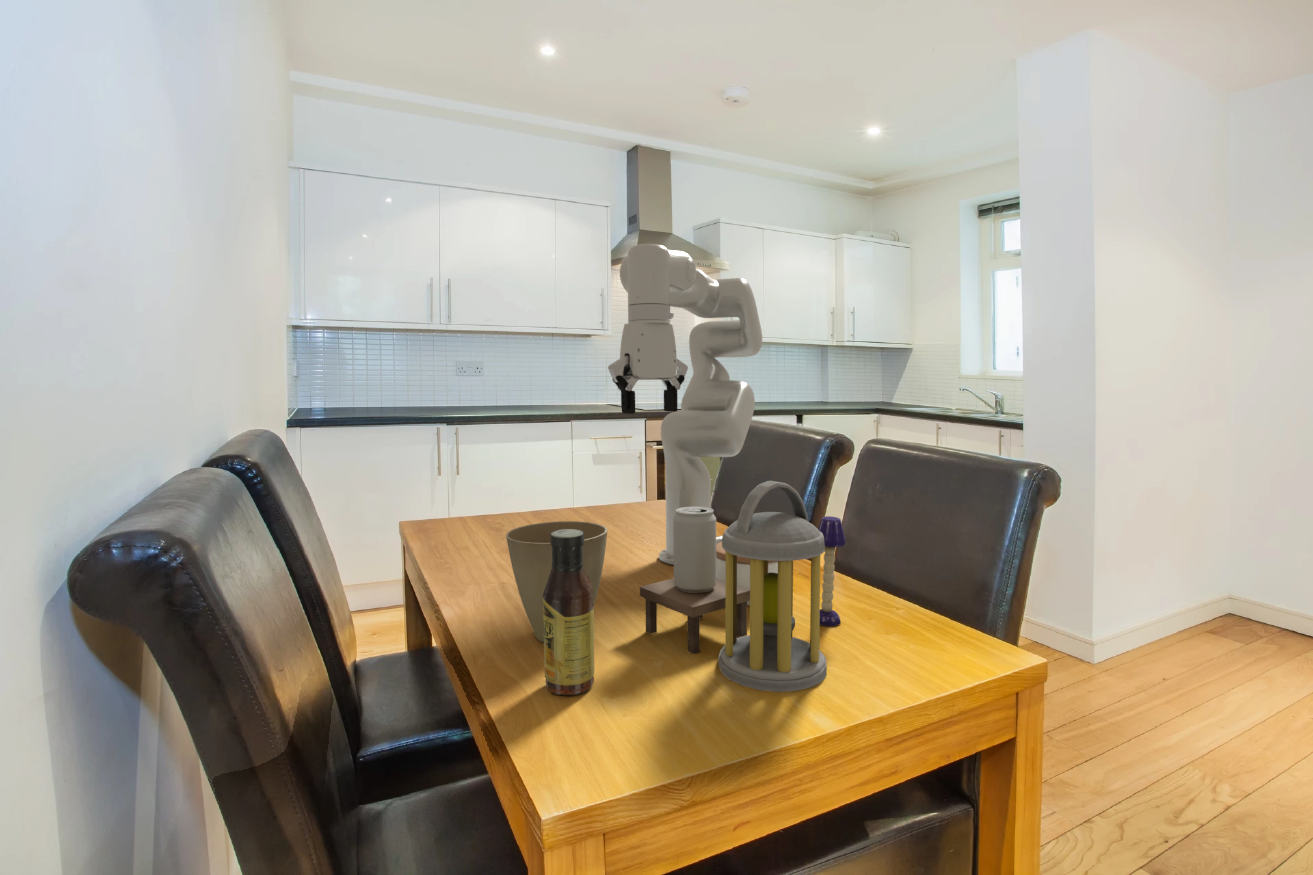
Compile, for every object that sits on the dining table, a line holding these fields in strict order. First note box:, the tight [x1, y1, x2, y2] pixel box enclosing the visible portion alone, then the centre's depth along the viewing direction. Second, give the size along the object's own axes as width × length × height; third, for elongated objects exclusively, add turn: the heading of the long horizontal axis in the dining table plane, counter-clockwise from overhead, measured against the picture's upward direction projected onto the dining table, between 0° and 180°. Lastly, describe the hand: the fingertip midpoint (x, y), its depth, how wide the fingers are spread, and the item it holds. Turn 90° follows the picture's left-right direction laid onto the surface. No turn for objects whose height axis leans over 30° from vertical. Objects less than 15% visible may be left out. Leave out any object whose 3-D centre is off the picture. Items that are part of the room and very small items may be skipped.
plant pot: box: [505, 520, 608, 643], centre depth 101 cm, size 15×15×16 cm
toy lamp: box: [817, 515, 846, 627], centre depth 105 cm, size 5×5×17 cm
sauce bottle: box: [543, 529, 595, 696], centre depth 83 cm, size 6×6×20 cm
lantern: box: [718, 480, 828, 693], centre depth 88 cm, size 14×14×25 cm
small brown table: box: [639, 577, 750, 655], centre depth 101 cm, size 12×12×7 cm
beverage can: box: [673, 506, 717, 593], centre depth 100 cm, size 6×6×12 cm
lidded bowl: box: [716, 542, 778, 606], centre depth 117 cm, size 13×13×11 cm
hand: (650, 412), depth 121 cm, fingers open, 9 cm apart
